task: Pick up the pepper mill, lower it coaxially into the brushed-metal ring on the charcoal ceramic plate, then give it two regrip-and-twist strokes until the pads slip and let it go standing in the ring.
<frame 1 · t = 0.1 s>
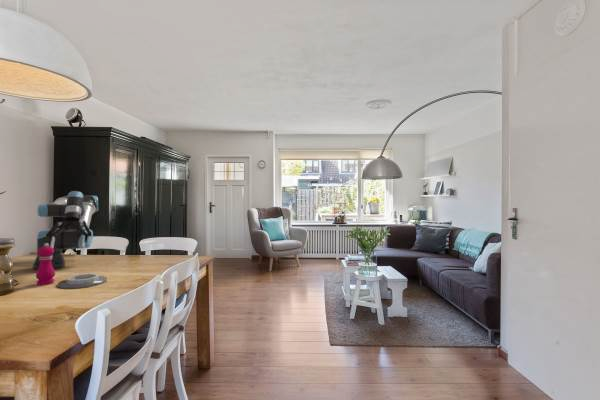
hand: (67, 247, 161), 15 cm above the table, tool tilted 35°, fingers open, 13 cm apart
ring seat: (83, 282, 149), on the table
pepper mill: (45, 283, 146), on the table
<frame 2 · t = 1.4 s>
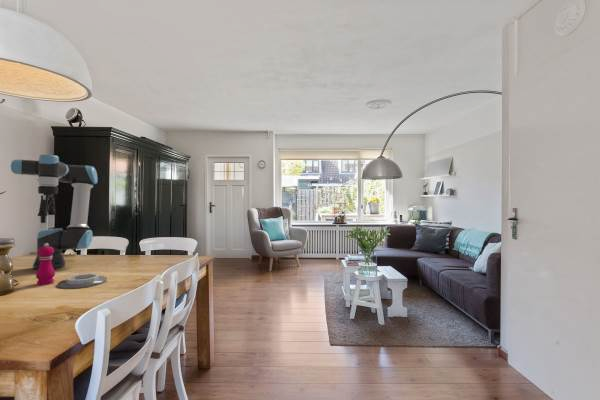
hand: (47, 228, 147), 27 cm above the table, tool pointing down, fingers open, 13 cm apart
nothing on the table moved.
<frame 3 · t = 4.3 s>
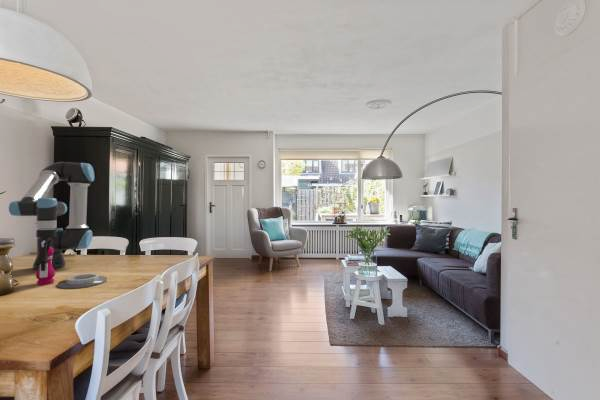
hand: (45, 275, 146), 4 cm above the table, tool pointing down, fingers closed on pepper mill, 7 cm apart
pepper mill: (45, 283, 146), on the table, touching gripper
when the fingers open (6 cm above the table, at t = 11.0 s): pepper mill stays where it is, resting on ring seat.
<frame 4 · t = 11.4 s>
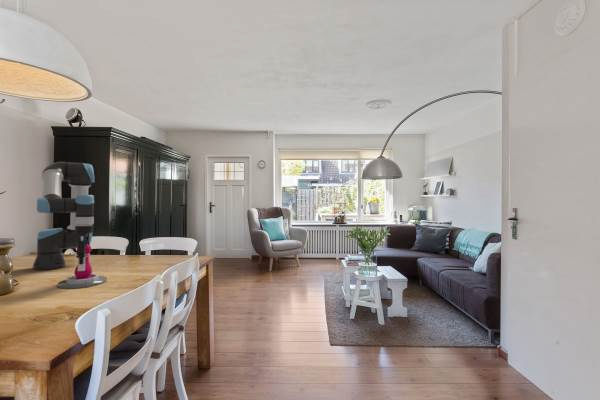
hand: (83, 268, 149), 7 cm above the table, tool pointing down, fingers open, 12 cm apart
pepper mill: (83, 281, 149), point 1 cm above the table, touching ring seat
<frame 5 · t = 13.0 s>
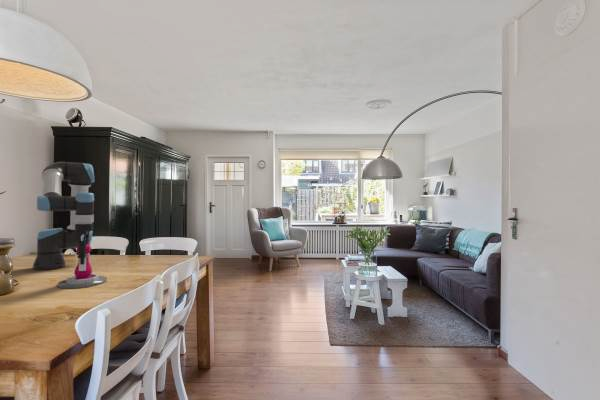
hand: (83, 269, 149), 7 cm above the table, tool pointing down, fingers closed on pepper mill, 6 cm apart
pepper mill: (83, 281, 149), point 1 cm above the table, touching gripper, ring seat
when the fingers open (7 cm above the table, at t = 16.0 s): pepper mill stays where it is, resting on ring seat.
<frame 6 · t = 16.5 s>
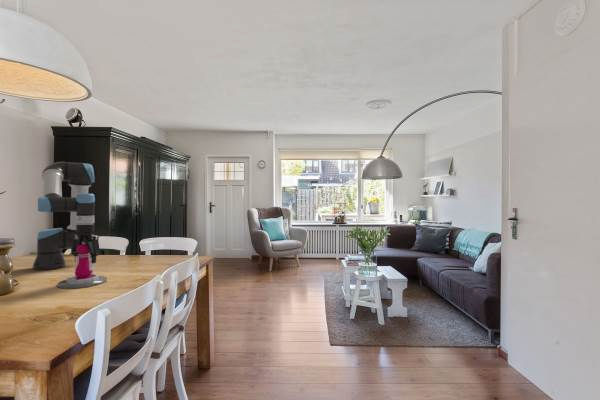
hand: (85, 269, 149), 7 cm above the table, tool pointing down, fingers open, 8 cm apart
pepper mill: (83, 280, 149), point 1 cm above the table, touching gripper, ring seat
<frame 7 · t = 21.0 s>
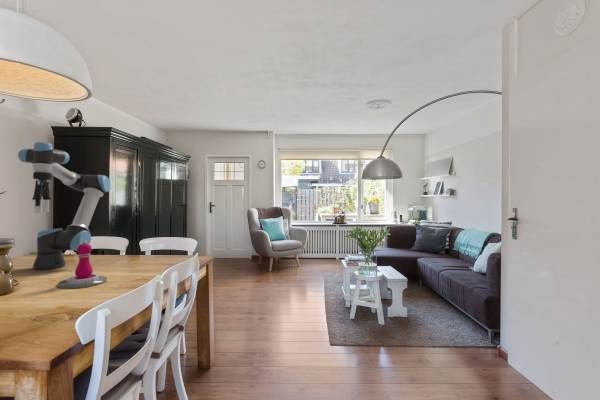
hand: (41, 212, 156), 35 cm above the table, tool pointing down, fingers open, 13 cm apart
pepper mill: (83, 280, 149), point 1 cm above the table, touching ring seat
at the end: pepper mill 0.3 cm off-centre on the ring seat, point 0.8 cm above the ring seat's base; pepper mill tilted 0°; the gripper is holding nothing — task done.
